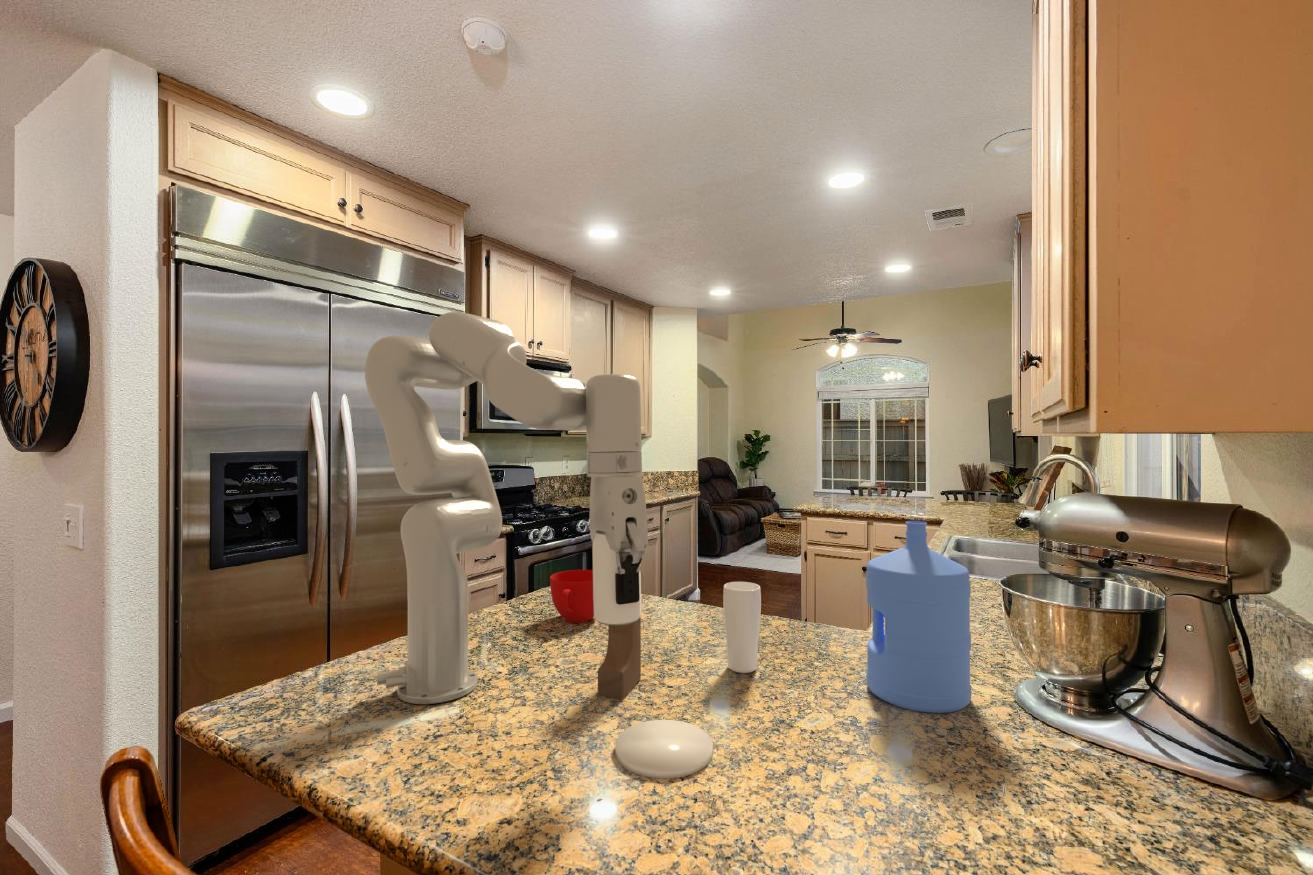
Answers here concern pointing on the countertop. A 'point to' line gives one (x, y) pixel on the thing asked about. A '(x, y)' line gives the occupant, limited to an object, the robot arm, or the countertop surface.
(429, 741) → the countertop surface
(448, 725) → the countertop surface
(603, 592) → the can
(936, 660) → the water jug
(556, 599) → the ceramic cup
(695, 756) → the white dome
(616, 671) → the wooden block
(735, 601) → the drinking glass
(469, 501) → the robot arm
